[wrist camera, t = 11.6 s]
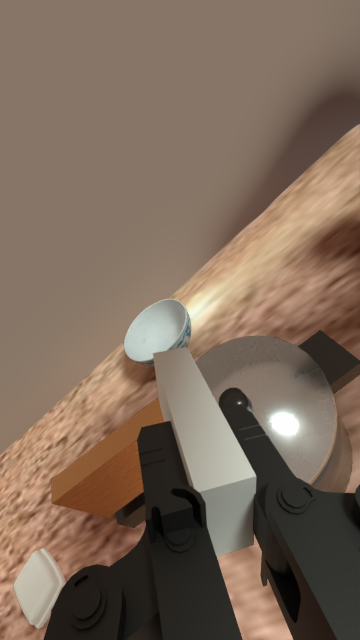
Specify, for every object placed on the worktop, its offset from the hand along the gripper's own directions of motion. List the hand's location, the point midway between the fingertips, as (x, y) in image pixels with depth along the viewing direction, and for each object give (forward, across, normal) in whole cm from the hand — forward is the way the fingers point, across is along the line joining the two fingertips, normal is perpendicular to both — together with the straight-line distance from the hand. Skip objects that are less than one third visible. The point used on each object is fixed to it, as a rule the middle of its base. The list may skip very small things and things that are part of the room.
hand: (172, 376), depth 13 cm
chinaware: (+44, +8, -24) cm, 51 cm away
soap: (+21, -21, -49) cm, 57 cm away
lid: (+13, +6, -19) cm, 24 cm away
